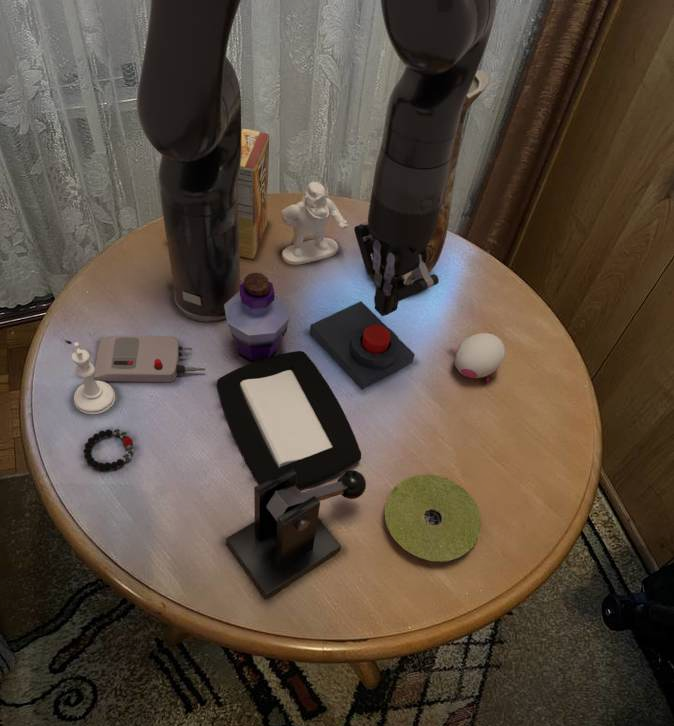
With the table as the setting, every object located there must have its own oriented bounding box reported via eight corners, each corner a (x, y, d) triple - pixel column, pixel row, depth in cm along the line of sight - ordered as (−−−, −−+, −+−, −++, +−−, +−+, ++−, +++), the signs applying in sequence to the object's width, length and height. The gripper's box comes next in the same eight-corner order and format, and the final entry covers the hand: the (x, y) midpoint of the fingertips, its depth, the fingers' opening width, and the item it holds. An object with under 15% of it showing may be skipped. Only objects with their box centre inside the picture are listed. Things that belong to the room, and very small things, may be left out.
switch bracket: (299, 499, 77) (305, 443, 67) (340, 550, 73) (352, 499, 64) (226, 543, 73) (220, 490, 63) (266, 599, 69) (267, 553, 60)
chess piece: (80, 419, 80) (59, 365, 71) (69, 390, 82) (48, 335, 74) (120, 407, 81) (104, 353, 73) (108, 378, 83) (92, 323, 75)
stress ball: (473, 364, 96) (464, 322, 92) (519, 370, 90) (511, 326, 86) (440, 388, 92) (429, 345, 89) (485, 396, 86) (476, 351, 83)
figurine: (293, 275, 98) (297, 206, 88) (275, 248, 101) (277, 178, 91) (347, 261, 101) (356, 192, 91) (328, 234, 104) (335, 166, 94)
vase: (352, 276, 99) (384, 72, 74) (390, 242, 104) (431, 41, 79) (410, 308, 96) (464, 108, 71) (445, 271, 101) (506, 73, 77)
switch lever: (345, 481, 75) (358, 462, 73) (362, 501, 73) (376, 482, 72) (260, 505, 65) (273, 484, 63) (279, 529, 64) (292, 508, 62)
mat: (362, 512, 76) (364, 504, 75) (432, 467, 81) (435, 458, 79) (426, 586, 72) (429, 580, 70) (496, 534, 77) (501, 526, 75)
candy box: (242, 219, 104) (240, 126, 91) (268, 224, 103) (270, 132, 91) (228, 255, 99) (224, 162, 86) (255, 260, 99) (255, 168, 86)
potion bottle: (300, 356, 89) (306, 290, 79) (246, 381, 85) (244, 315, 76) (267, 316, 92) (268, 248, 82) (213, 339, 89) (207, 270, 79)
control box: (309, 333, 91) (311, 315, 88) (359, 309, 95) (362, 291, 92) (361, 389, 87) (365, 372, 84) (412, 362, 90) (417, 345, 87)
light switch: (206, 371, 83) (306, 337, 86) (209, 385, 86) (306, 351, 89) (262, 497, 74) (372, 454, 77) (264, 508, 76) (370, 466, 80)
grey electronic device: (87, 343, 86) (82, 327, 84) (207, 344, 88) (205, 329, 86) (79, 381, 83) (74, 366, 80) (205, 382, 85) (203, 367, 82)
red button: (356, 340, 87) (358, 331, 86) (377, 330, 89) (379, 321, 87) (373, 357, 86) (375, 348, 84) (393, 347, 87) (396, 338, 86)
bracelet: (140, 462, 77) (139, 457, 76) (91, 478, 75) (89, 474, 74) (126, 426, 80) (124, 421, 79) (79, 441, 78) (77, 436, 77)
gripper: (477, 212, 67) (440, 331, 81) (395, 146, 72) (374, 269, 86) (423, 236, 64) (395, 355, 78) (341, 166, 69) (329, 290, 83)
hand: (384, 310), depth 82 cm, fingers closed
